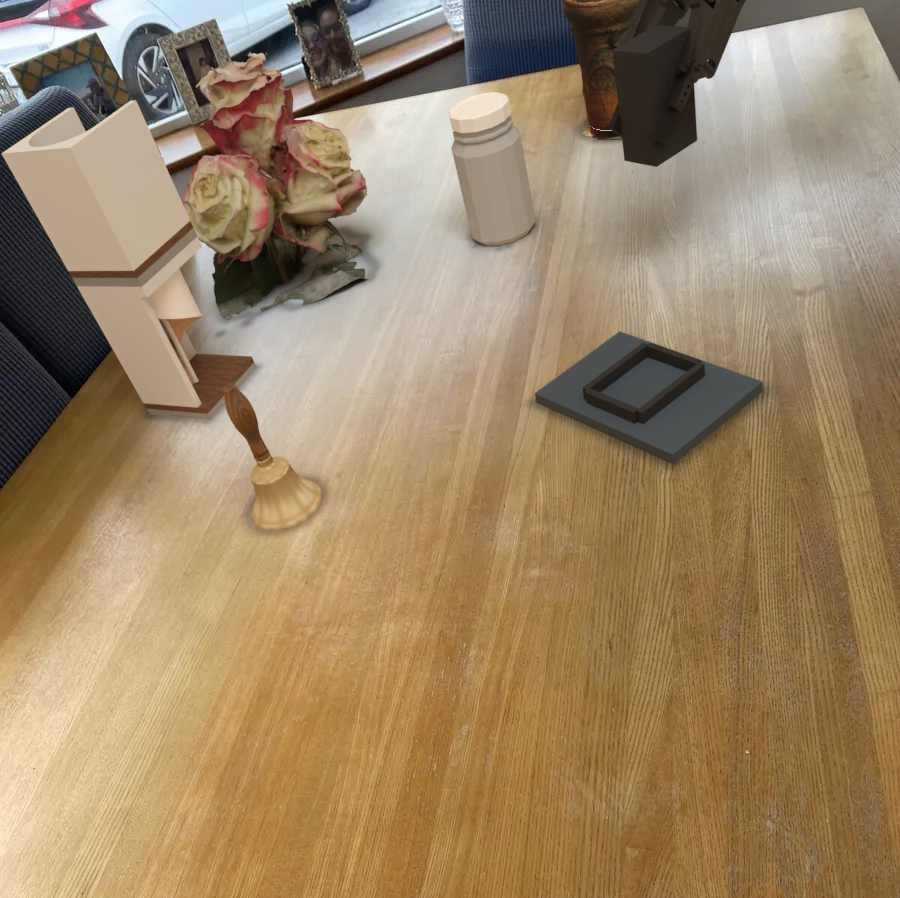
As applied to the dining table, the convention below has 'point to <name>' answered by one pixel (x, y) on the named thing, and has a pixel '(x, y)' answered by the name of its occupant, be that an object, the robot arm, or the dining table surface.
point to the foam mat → (649, 395)
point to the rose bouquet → (270, 191)
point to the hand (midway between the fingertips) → (636, 135)
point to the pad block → (651, 94)
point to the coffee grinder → (126, 252)
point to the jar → (491, 169)
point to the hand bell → (271, 473)
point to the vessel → (599, 55)
